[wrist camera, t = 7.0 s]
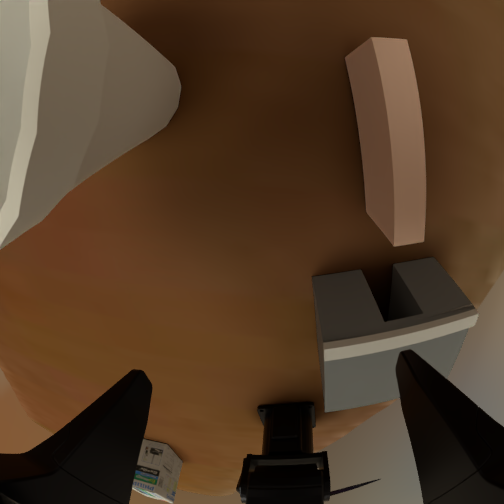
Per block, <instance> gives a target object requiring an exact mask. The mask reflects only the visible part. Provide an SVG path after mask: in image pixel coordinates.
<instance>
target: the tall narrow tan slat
mask: <svg viewBox="0 0 504 504" xmlns="http://www.w3.org/2000/svg"><path fill="white" fill-rule="evenodd" d="M345 61H346V65H347V70H348V74H349V79H350V84H351V89H352V94H353V100H354V105H355V111H356V118H357V124H358V131H359V138H360V146H361V155H362V164H363V174H364V186H365V201H366V213H367V214H368V215H369V216H370V217H371V219H372V220H373V221H374V222H375V224H376V225H377V226H378V227H379V228H380V230H381V231H382V232H383V233H384V235H385V236H386V237H387V238H388V240H389V241H390V242H391V244H392V245H393V246H394V247H395V246H401V245H408V244H414V243H420V242H424V235H425V217H426V162H425V145H424V132H423V123H422V114H421V106H420V100H419V93H418V87H417V82H416V76H415V71H414V67H413V62H412V58H411V53H410V49H409V45H408V42H407V40H406V39H395V38H381V37H371V38H369V39H368V40H367V41H365V42H364V43H363V44H361V45H360V46H359V47H358V48H356V49H355V50H354V51H352V52H351V53H350V54H349V55H347V56H346V57H345Z"/></svg>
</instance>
